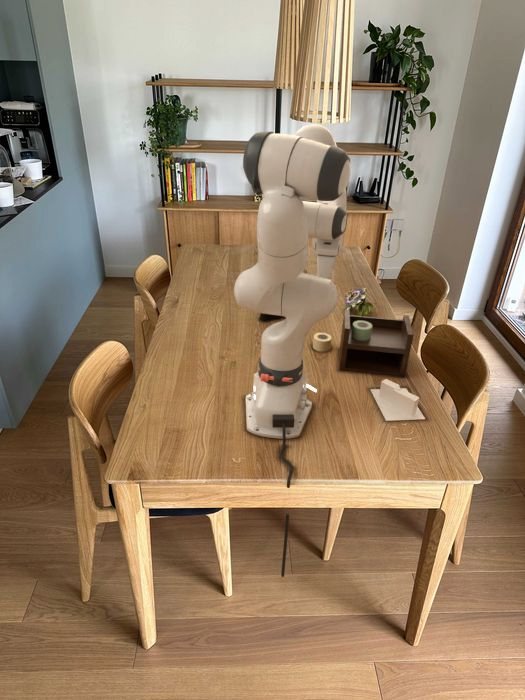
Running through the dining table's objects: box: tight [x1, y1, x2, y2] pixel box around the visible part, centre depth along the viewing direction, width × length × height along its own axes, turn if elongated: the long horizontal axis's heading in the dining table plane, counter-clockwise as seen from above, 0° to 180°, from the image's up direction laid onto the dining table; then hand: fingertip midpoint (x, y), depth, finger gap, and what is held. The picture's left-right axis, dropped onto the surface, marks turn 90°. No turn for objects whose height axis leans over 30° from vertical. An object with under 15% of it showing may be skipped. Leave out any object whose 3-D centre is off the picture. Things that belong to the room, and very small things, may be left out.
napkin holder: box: [369, 378, 426, 422], centre depth 141 cm, size 15×11×6 cm
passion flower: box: [345, 287, 377, 317], centre depth 192 cm, size 11×11×12 cm
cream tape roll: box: [312, 332, 333, 353], centre depth 168 cm, size 6×6×4 cm
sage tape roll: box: [351, 321, 372, 341], centre depth 155 cm, size 6×6×4 cm
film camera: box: [259, 313, 286, 322], centre depth 187 cm, size 15×10×9 cm, turn 115°
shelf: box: [338, 309, 415, 378], centre depth 158 cm, size 14×20×15 cm
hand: (323, 284), depth 157 cm, fingers open, 8 cm apart
